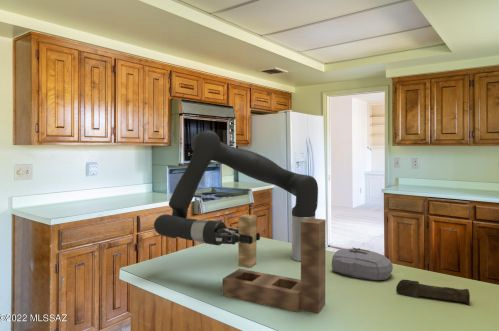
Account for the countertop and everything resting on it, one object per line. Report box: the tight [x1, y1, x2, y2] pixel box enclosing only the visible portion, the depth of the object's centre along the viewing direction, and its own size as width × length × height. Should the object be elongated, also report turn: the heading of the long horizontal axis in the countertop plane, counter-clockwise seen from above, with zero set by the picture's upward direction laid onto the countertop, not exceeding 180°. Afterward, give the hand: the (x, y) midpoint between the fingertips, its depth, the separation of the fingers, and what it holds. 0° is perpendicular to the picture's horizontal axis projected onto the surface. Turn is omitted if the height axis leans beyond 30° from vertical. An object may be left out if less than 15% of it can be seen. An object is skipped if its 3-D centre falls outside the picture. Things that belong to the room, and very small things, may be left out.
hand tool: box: [395, 279, 471, 306], centre depth 104 cm, size 19×4×5 cm, turn 66°
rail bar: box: [237, 214, 258, 269], centre depth 108 cm, size 4×4×15 cm
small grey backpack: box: [331, 247, 394, 281], centre depth 125 cm, size 15×8×20 cm
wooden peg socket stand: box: [222, 218, 327, 314], centre depth 104 cm, size 29×10×24 cm, turn 61°
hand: (255, 238), depth 106 cm, fingers closed on rail bar, 4 cm apart
